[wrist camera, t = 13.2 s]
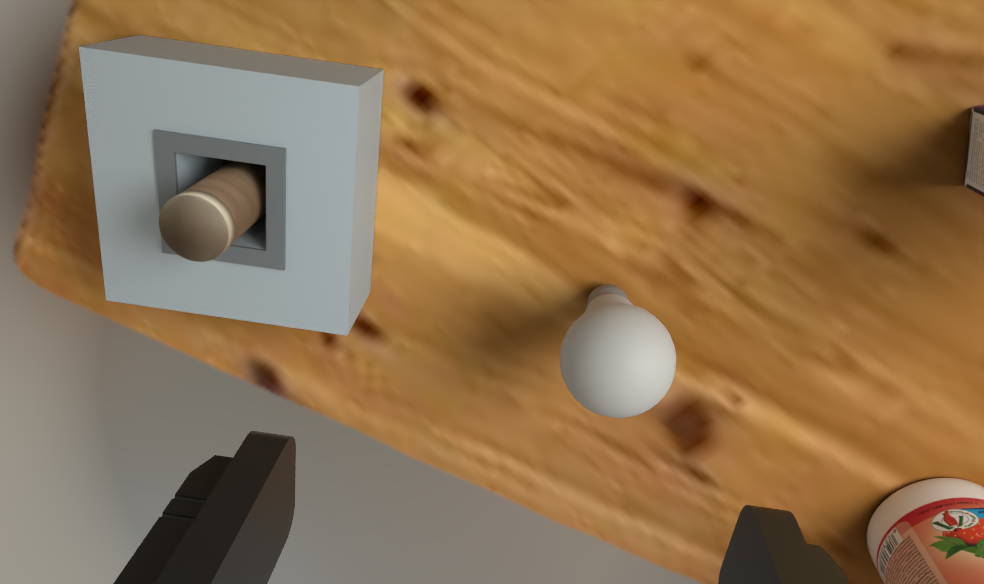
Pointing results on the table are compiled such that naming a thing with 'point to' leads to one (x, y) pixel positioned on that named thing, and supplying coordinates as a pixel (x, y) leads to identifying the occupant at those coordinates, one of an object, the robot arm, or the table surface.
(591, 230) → the table surface
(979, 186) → the candy bar box
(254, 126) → the socket block
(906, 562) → the fruit juice
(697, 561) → the table surface
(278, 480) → the robot arm
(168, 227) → the dowel
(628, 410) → the lightbulb
